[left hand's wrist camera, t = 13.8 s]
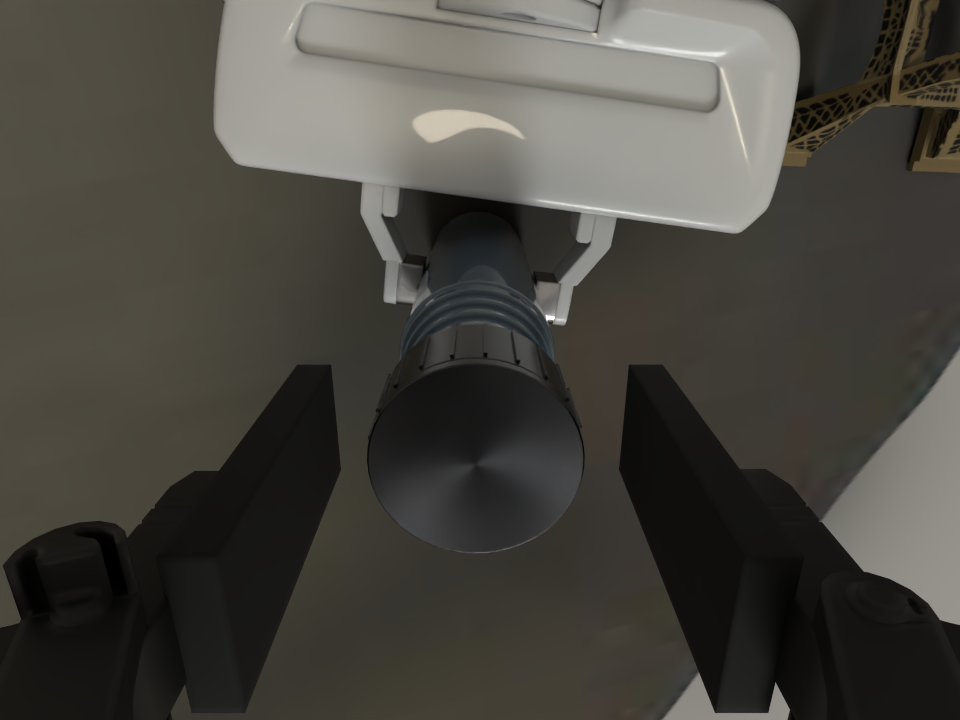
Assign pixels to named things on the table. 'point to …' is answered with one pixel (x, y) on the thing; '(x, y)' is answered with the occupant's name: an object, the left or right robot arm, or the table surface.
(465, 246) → the bottle
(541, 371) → the cap
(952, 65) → the eiffel tower
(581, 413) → the table surface
